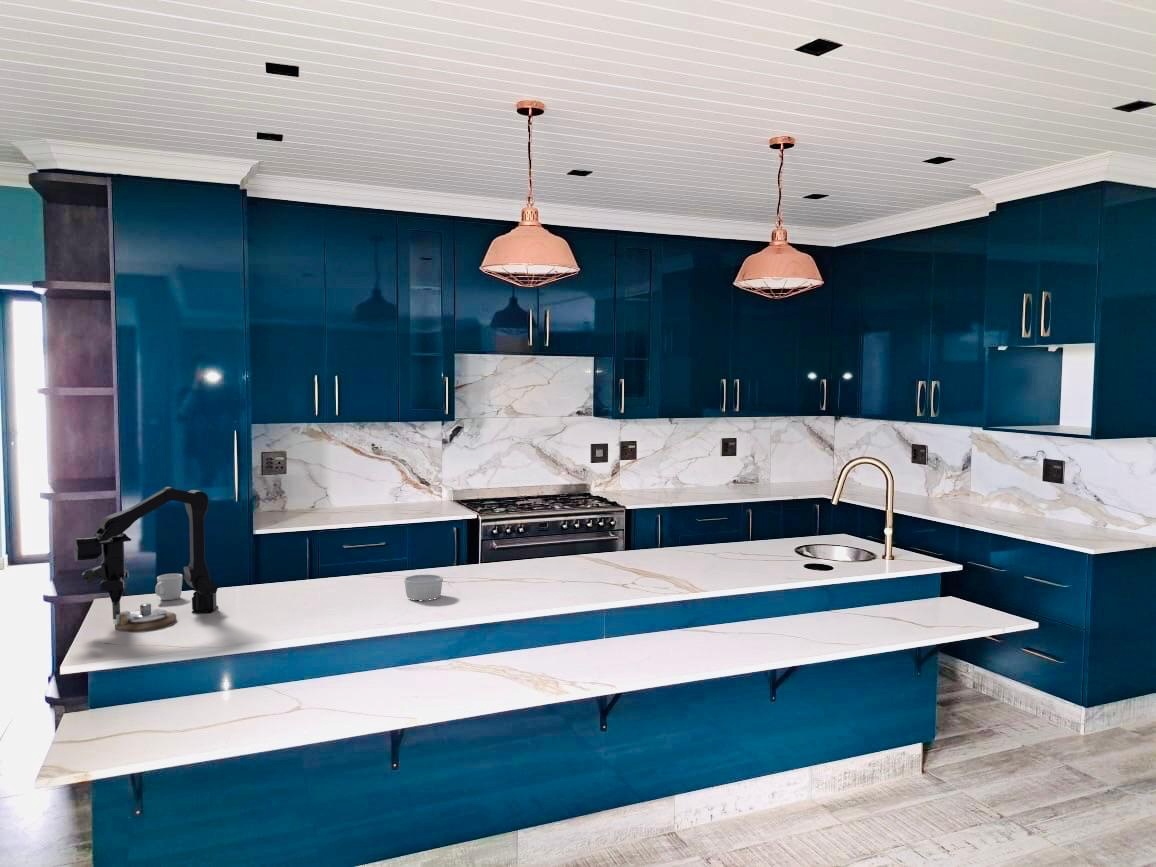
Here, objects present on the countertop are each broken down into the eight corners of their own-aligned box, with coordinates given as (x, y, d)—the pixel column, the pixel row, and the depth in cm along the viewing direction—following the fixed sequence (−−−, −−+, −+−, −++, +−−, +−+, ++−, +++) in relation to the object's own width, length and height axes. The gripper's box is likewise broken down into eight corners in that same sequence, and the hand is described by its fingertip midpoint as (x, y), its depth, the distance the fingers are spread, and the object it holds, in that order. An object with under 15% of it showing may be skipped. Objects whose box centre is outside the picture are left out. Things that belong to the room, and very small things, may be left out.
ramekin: (437, 591, 301) (436, 572, 301) (447, 600, 289) (447, 580, 289) (400, 595, 295) (400, 576, 295) (409, 604, 283) (409, 584, 283)
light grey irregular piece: (157, 610, 269) (156, 590, 269) (174, 617, 262) (173, 595, 261) (105, 621, 257) (104, 599, 257) (121, 628, 250) (120, 605, 249)
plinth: (184, 615, 270) (184, 601, 270) (163, 630, 253) (163, 615, 253) (129, 616, 269) (129, 603, 268) (104, 632, 252) (104, 617, 251)
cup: (167, 604, 284) (166, 581, 284) (146, 603, 286) (145, 580, 285) (188, 596, 295) (187, 574, 294) (168, 595, 296) (167, 573, 296)
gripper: (87, 553, 263) (89, 602, 264) (78, 565, 246) (81, 617, 246) (128, 550, 267) (129, 599, 268) (122, 561, 250) (123, 613, 251)
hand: (115, 607), depth 258 cm, fingers closed
